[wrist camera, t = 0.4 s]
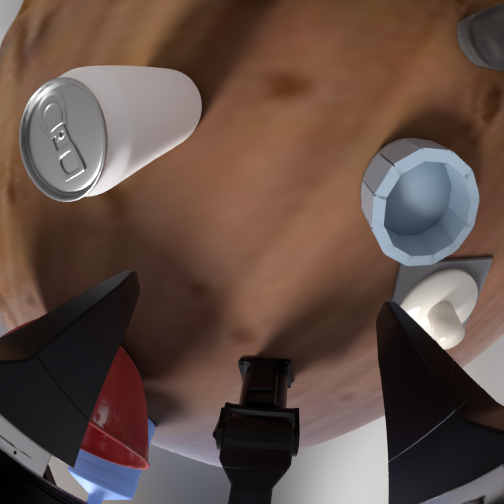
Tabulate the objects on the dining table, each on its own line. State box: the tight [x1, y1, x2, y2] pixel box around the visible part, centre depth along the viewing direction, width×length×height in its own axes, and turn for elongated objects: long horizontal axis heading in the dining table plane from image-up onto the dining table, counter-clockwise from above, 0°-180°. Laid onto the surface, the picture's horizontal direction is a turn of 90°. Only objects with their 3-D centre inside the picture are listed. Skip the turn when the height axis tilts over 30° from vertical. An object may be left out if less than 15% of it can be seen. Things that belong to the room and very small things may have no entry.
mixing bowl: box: [0, 319, 150, 469], centre depth 32 cm, size 28×28×16 cm
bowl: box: [360, 138, 480, 266], centre depth 18 cm, size 9×9×4 cm
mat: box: [391, 257, 493, 328], centre depth 26 cm, size 12×12×1 cm
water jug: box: [68, 418, 155, 504], centre depth 42 cm, size 16×16×28 cm
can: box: [19, 66, 202, 202], centre depth 14 cm, size 6×6×12 cm
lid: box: [399, 268, 478, 349], centre depth 24 cm, size 10×10×5 cm
